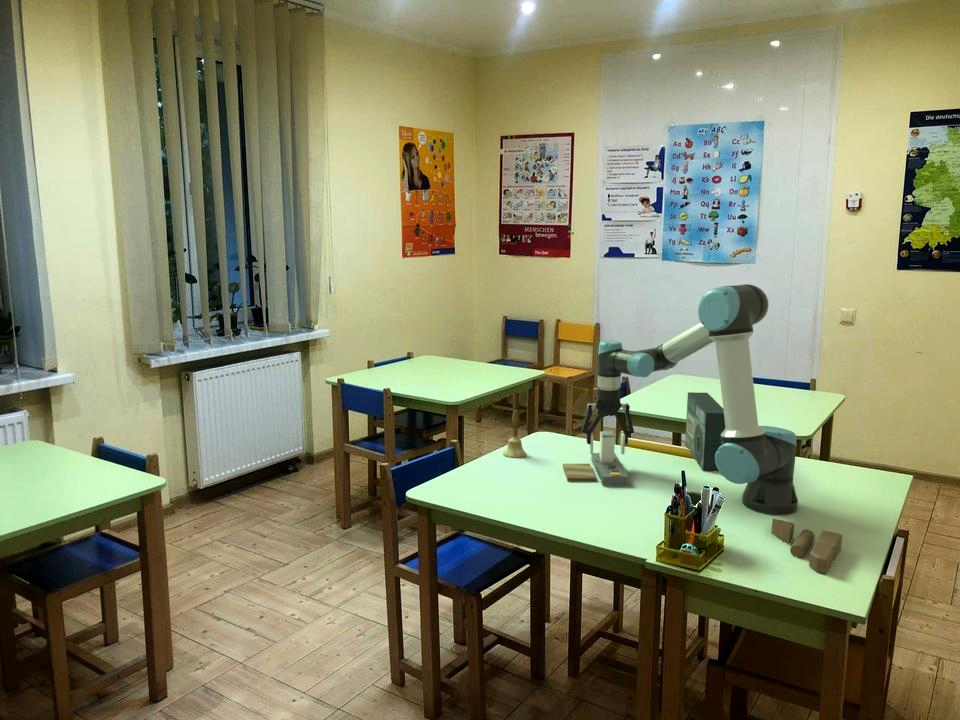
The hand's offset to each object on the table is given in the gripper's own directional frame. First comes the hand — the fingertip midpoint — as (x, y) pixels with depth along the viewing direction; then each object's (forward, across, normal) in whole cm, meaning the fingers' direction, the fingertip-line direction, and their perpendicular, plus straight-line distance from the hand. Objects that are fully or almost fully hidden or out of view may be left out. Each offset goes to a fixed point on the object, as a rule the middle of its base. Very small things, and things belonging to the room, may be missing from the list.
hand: (606, 453), depth 249 cm
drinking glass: (+5, -12, +58) cm, 59 cm away
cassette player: (+6, -36, -11) cm, 38 cm away
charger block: (+5, 0, 0) cm, 5 cm away
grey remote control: (+5, 0, +5) cm, 7 cm away
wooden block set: (+6, -37, +64) cm, 74 cm away
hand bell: (+5, +30, -15) cm, 34 cm away
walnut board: (+5, +10, +6) cm, 13 cm away
